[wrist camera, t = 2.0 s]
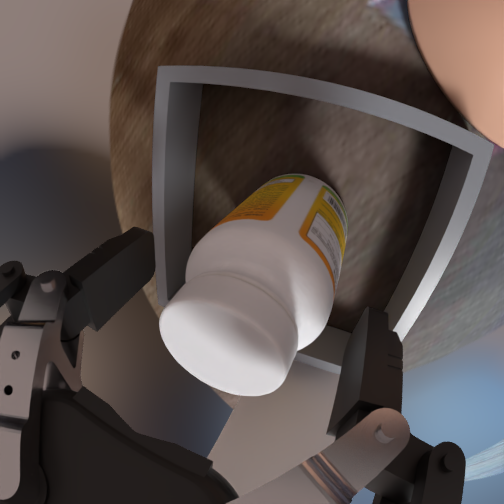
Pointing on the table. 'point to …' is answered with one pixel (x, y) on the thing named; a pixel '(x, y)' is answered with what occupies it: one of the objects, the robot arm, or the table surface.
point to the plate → (465, 57)
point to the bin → (192, 78)
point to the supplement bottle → (259, 286)
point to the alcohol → (276, 429)
